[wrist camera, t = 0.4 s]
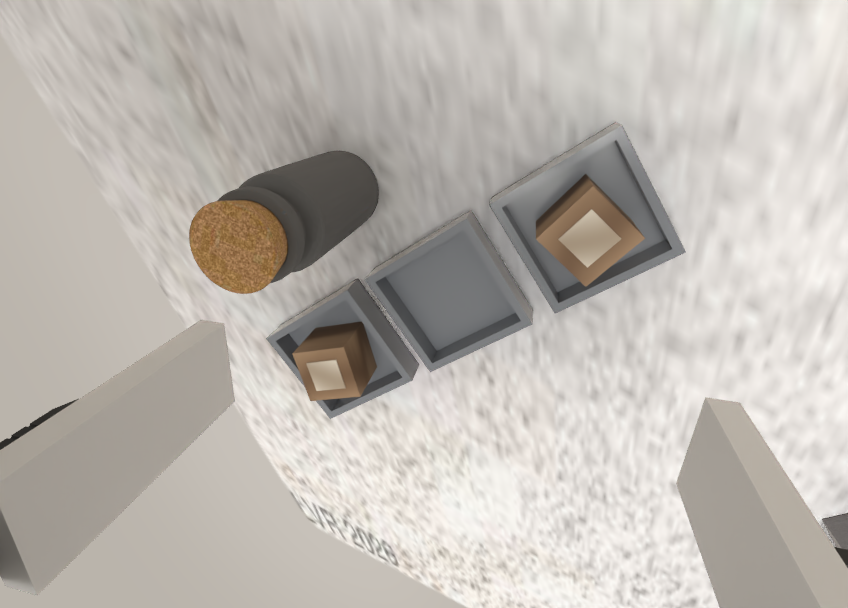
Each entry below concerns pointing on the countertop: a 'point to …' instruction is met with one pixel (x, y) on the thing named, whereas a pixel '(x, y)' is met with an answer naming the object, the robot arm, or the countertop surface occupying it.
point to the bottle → (282, 220)
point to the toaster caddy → (838, 530)
